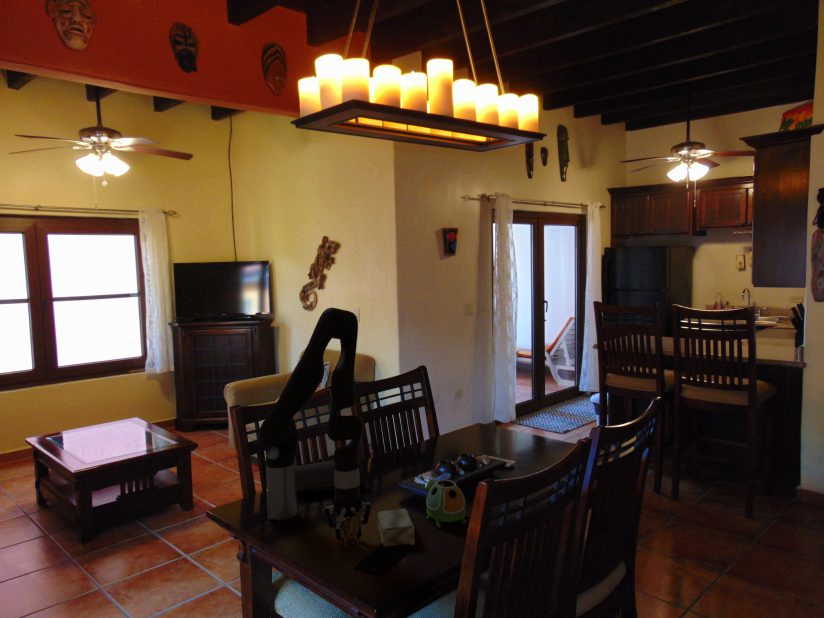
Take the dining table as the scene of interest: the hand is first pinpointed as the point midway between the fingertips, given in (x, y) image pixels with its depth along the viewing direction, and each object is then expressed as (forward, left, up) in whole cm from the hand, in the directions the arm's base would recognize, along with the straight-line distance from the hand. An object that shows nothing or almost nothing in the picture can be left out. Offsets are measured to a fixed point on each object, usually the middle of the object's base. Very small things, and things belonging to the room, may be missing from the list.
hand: (348, 538), depth 172 cm
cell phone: (+9, -12, -2) cm, 15 cm away
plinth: (+14, 0, -1) cm, 14 cm away
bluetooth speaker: (-5, +43, -1) cm, 43 cm away
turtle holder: (+31, +9, -1) cm, 32 cm away
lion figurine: (0, +1, -1) cm, 1 cm away
